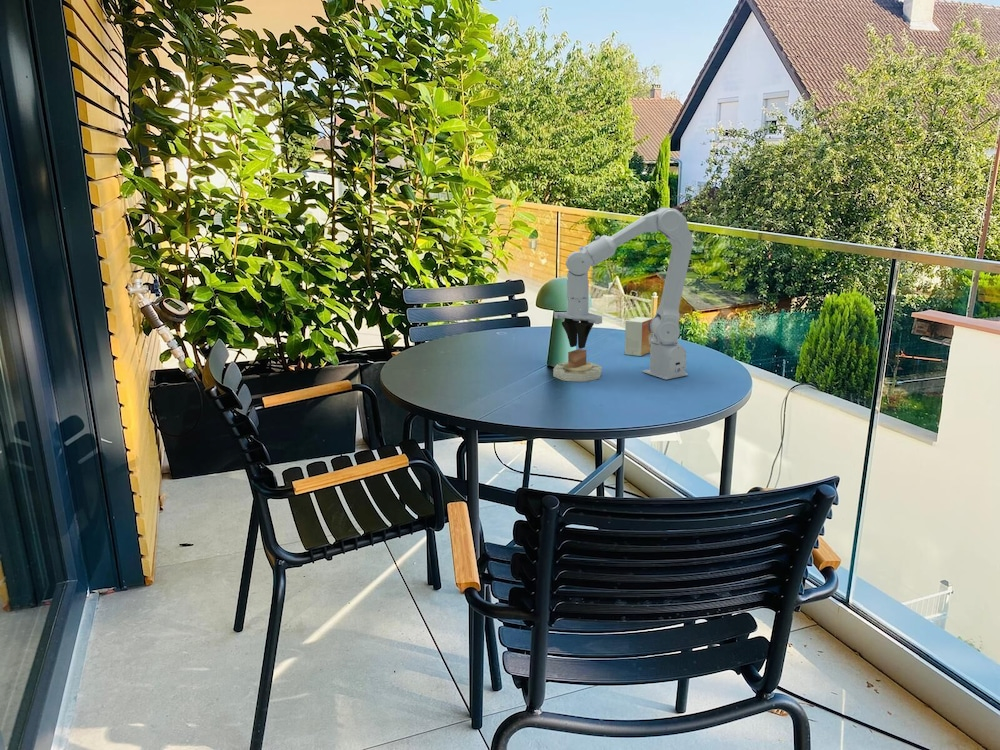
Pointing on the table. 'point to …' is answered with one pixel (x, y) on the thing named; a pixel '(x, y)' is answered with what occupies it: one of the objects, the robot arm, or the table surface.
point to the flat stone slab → (577, 373)
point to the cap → (577, 361)
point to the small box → (638, 336)
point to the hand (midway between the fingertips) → (577, 347)
